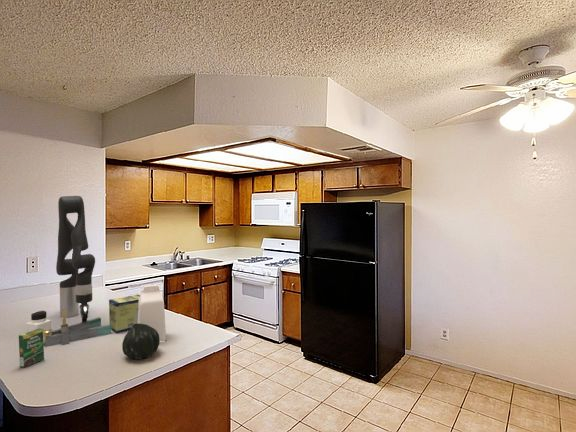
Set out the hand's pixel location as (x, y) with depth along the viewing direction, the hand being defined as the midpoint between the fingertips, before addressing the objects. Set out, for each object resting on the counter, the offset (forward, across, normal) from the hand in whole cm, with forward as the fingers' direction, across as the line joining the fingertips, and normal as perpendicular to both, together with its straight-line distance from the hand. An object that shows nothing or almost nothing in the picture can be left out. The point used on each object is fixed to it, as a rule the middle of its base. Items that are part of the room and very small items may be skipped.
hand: (84, 325), depth 177 cm
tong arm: (+1, +5, -4) cm, 7 cm away
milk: (+2, +36, +25) cm, 44 cm away
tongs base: (+2, +13, -4) cm, 14 cm away
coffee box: (+2, +34, -21) cm, 40 cm away
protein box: (+2, +12, +19) cm, 22 cm away
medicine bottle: (+2, -1, -19) cm, 19 cm away
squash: (+2, +52, +17) cm, 55 cm away
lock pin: (-3, +9, -9) cm, 13 cm away
